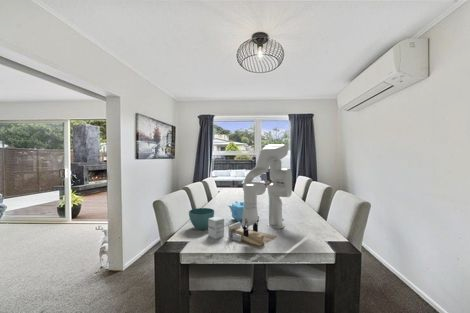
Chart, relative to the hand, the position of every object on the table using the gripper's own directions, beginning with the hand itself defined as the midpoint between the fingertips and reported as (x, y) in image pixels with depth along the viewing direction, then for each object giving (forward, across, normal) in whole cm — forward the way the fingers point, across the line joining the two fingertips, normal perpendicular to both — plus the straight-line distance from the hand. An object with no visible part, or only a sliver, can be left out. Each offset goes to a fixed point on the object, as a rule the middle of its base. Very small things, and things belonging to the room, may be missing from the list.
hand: (250, 233), depth 133 cm
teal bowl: (+6, -1, -44) cm, 44 cm away
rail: (+4, 0, -1) cm, 4 cm away
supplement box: (+6, +7, -22) cm, 24 cm away
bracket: (+4, +1, -8) cm, 9 cm away
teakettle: (+7, -34, -33) cm, 48 cm away
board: (+6, -5, -2) cm, 8 cm away
